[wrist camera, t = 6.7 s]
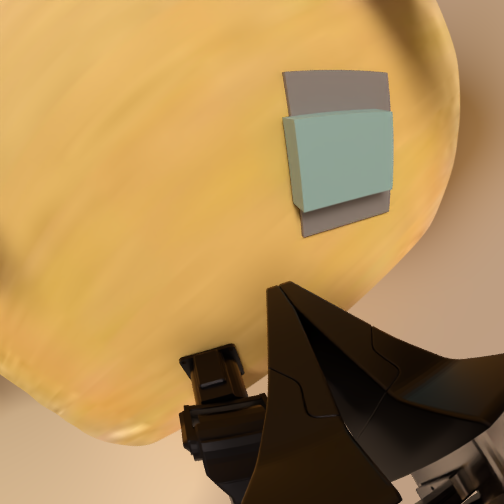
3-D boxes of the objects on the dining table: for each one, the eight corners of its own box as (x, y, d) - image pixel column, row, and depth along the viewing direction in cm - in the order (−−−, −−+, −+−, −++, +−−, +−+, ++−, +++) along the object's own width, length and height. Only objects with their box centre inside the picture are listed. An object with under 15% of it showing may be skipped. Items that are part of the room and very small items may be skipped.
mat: (386, 209, 26) (388, 211, 25) (302, 235, 24) (303, 237, 24) (384, 72, 18) (387, 72, 17) (282, 72, 16) (284, 71, 16)
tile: (293, 203, 22) (378, 181, 23) (304, 212, 20) (392, 189, 21) (282, 117, 18) (376, 108, 19) (293, 119, 16) (392, 111, 18)
